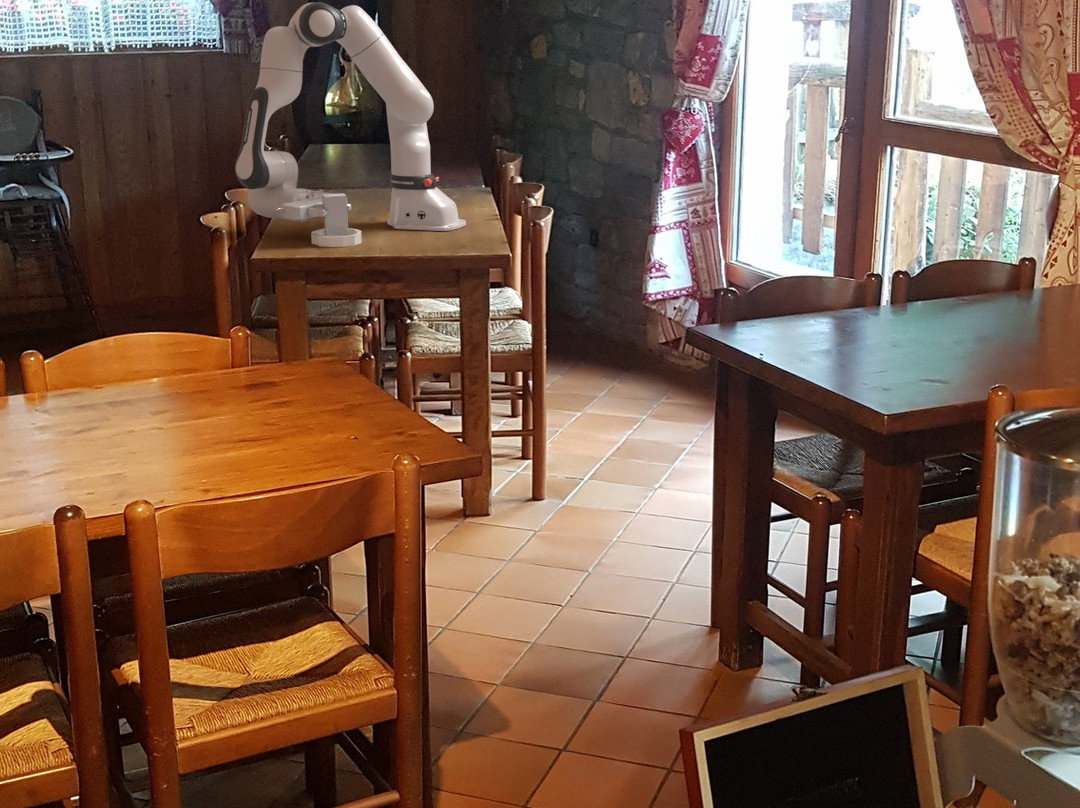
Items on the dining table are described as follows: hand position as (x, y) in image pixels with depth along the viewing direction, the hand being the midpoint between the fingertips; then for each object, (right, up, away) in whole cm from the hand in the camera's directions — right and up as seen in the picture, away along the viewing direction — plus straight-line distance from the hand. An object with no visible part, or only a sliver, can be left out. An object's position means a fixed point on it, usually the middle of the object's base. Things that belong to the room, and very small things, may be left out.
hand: (337, 210), depth 324 cm
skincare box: (-1, -8, +2) cm, 8 cm away
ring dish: (-1, -8, +3) cm, 9 cm away
